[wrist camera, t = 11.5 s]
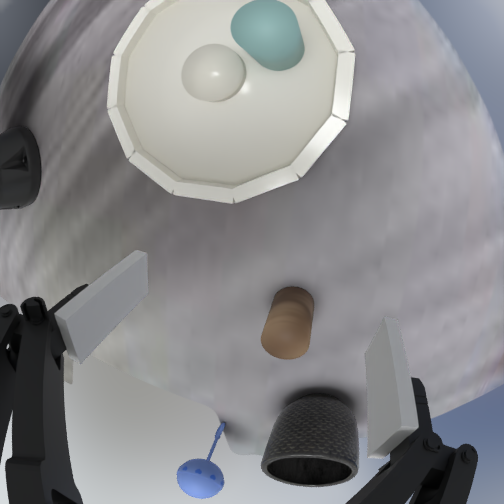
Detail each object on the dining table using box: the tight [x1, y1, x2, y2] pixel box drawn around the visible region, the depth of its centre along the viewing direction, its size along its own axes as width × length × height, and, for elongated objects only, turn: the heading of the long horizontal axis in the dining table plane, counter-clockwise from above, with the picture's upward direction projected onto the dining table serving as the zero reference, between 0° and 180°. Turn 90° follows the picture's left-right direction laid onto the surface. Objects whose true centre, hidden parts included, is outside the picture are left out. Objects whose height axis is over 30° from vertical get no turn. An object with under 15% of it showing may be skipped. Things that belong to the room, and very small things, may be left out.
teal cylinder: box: [230, 0, 305, 71], centre depth 19 cm, size 5×5×7 cm
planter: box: [261, 394, 359, 487], centre depth 36 cm, size 14×14×13 cm
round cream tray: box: [107, 0, 355, 204], centre depth 24 cm, size 26×26×3 cm
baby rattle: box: [177, 423, 225, 499], centre depth 42 cm, size 9×9×18 cm
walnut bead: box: [261, 287, 314, 359], centre depth 31 cm, size 5×5×7 cm
